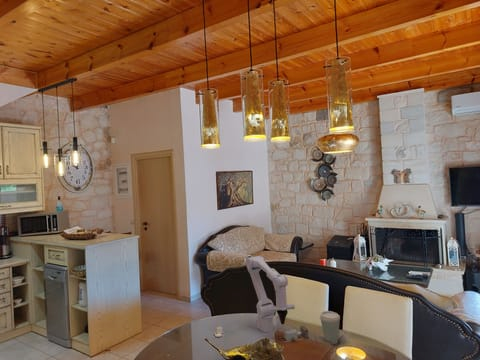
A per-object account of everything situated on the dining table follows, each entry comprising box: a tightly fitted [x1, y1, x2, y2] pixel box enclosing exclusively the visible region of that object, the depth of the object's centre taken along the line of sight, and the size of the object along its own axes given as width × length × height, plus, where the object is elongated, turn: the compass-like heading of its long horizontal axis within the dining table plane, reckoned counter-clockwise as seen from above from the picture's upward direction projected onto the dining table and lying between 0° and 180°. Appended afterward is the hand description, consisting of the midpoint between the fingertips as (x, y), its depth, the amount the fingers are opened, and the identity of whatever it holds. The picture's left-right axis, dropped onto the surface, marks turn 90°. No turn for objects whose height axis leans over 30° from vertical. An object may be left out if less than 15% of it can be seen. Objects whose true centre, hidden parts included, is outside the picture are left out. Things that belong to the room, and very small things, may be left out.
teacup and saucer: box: [214, 326, 223, 338], centre depth 198 cm, size 9×8×4 cm
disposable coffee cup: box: [319, 310, 341, 345], centre depth 181 cm, size 11×11×15 cm
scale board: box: [274, 325, 309, 344], centre depth 184 cm, size 18×12×6 cm, turn 104°
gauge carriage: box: [283, 328, 302, 342], centre depth 183 cm, size 9×7×4 cm
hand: (282, 323), depth 185 cm, fingers closed
